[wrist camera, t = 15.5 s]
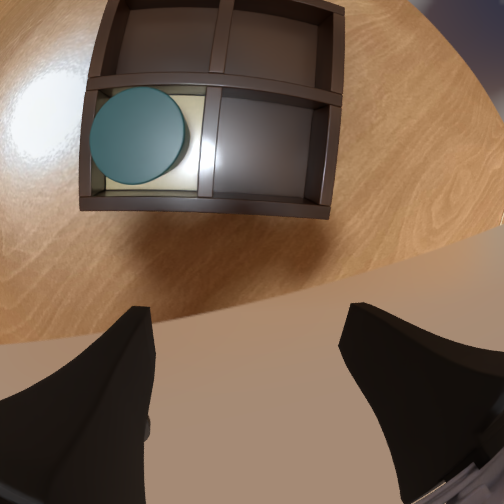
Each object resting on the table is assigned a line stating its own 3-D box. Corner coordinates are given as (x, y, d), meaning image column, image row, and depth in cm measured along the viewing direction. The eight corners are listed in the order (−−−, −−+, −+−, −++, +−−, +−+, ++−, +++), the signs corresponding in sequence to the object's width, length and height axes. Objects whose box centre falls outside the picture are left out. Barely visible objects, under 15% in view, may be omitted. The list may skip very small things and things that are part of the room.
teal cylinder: (187, 177, 15) (181, 185, 11) (115, 177, 14) (87, 186, 10) (193, 104, 14) (190, 85, 10) (120, 105, 13) (93, 90, 9)
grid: (310, 209, 18) (329, 220, 15) (97, 201, 15) (79, 211, 12) (325, 23, 13) (345, 7, 11) (123, 6, 11) (112, -14, 8)
